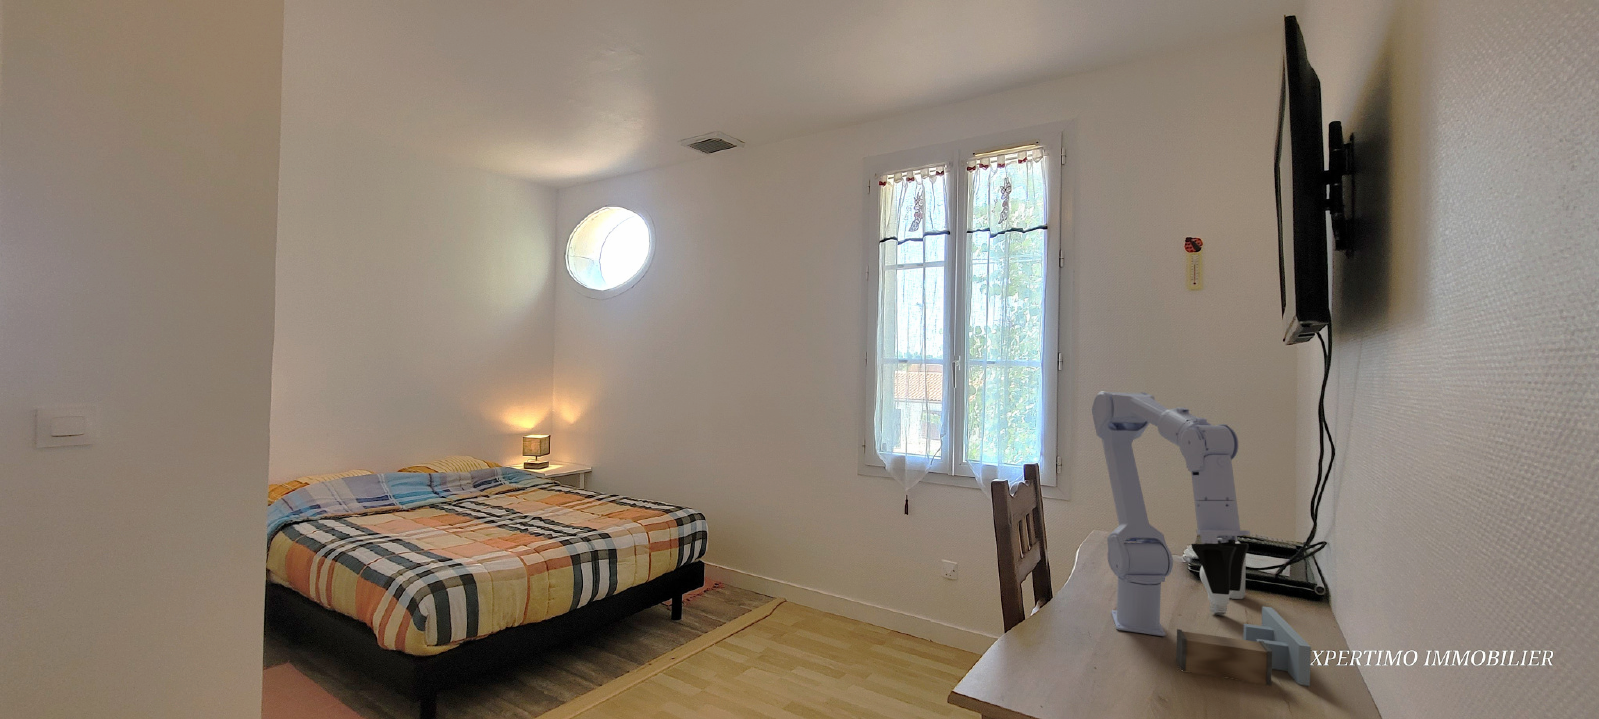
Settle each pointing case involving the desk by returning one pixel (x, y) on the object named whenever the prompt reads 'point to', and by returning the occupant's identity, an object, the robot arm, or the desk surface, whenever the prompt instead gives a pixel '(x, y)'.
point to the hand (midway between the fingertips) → (1226, 592)
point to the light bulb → (1215, 597)
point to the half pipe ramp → (1224, 657)
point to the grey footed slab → (1282, 645)
